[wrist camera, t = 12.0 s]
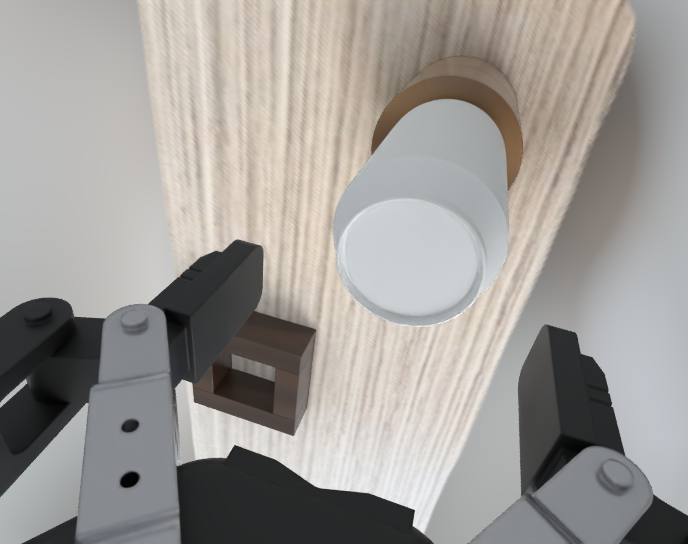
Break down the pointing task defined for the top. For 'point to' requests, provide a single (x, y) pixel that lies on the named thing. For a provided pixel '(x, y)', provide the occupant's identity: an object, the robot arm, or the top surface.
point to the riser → (466, 85)
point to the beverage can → (426, 216)
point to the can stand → (256, 393)
